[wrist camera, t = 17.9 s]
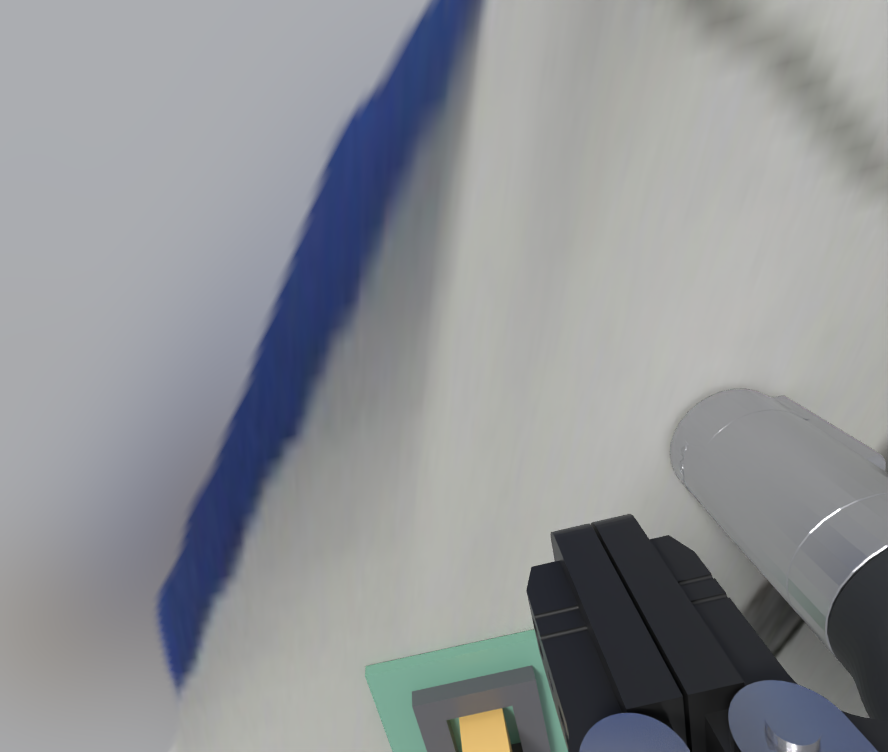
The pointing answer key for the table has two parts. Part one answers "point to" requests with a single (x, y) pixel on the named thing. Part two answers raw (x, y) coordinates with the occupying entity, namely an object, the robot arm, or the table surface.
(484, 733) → the amber plug
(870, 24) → the table surface
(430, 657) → the socket board
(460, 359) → the table surface
